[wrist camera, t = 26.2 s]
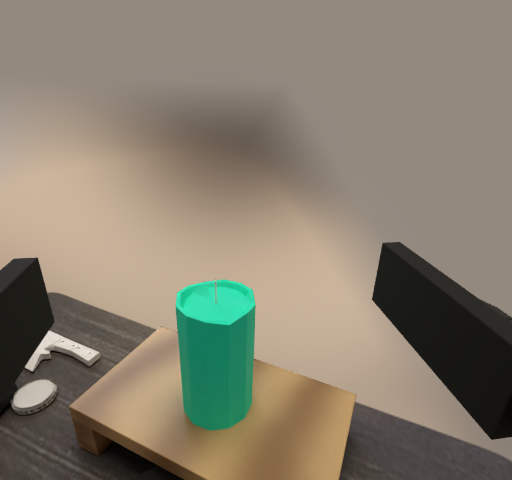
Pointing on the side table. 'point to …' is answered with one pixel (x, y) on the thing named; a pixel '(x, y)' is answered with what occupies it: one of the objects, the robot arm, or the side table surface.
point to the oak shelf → (216, 441)
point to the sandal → (157, 475)
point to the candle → (216, 352)
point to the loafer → (8, 397)
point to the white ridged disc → (34, 396)
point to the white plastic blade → (61, 350)
